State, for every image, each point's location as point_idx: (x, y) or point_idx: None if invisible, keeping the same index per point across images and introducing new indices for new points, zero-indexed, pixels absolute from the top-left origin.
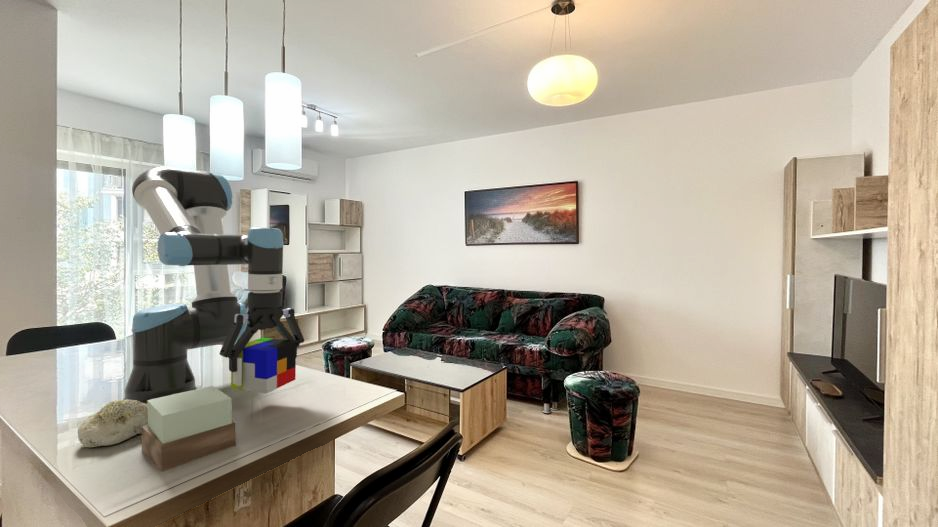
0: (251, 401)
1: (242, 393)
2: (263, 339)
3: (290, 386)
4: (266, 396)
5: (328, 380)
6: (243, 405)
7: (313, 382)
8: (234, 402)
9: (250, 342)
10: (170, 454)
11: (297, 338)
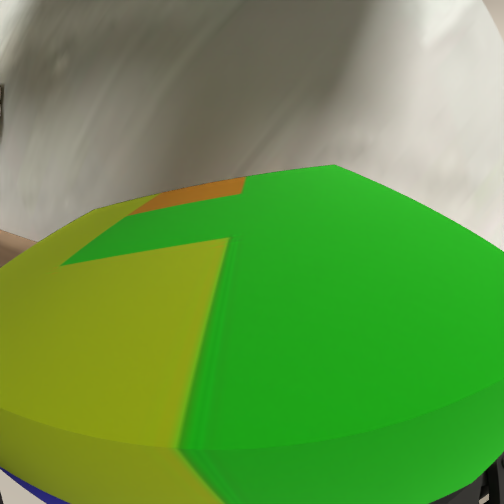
0: (254, 149)
1: (305, 35)
2: (416, 485)
3: (441, 164)
4: (325, 159)
5: (501, 249)
6: (208, 160)
7: (485, 217)
8: (214, 95)
9: (52, 464)
10: None
11: (480, 494)
